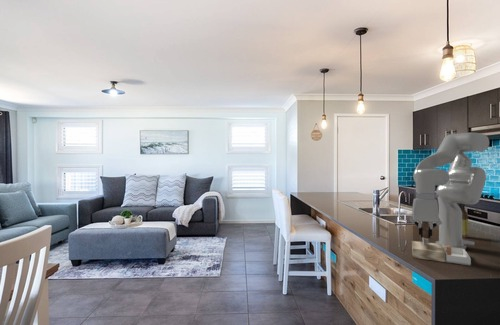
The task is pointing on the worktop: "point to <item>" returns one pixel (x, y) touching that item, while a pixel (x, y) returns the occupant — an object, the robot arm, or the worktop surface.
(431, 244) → the board
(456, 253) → the box
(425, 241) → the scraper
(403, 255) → the worktop surface
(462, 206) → the sauce bottle
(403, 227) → the worktop surface
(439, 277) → the worktop surface
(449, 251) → the block
